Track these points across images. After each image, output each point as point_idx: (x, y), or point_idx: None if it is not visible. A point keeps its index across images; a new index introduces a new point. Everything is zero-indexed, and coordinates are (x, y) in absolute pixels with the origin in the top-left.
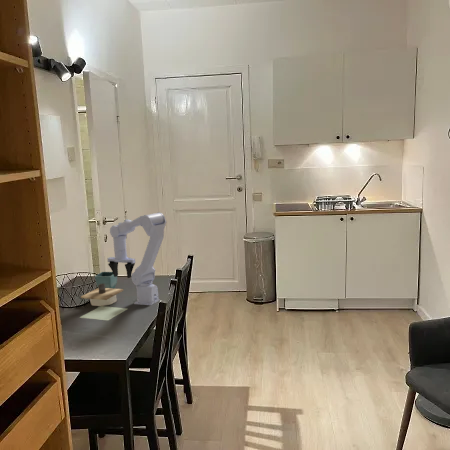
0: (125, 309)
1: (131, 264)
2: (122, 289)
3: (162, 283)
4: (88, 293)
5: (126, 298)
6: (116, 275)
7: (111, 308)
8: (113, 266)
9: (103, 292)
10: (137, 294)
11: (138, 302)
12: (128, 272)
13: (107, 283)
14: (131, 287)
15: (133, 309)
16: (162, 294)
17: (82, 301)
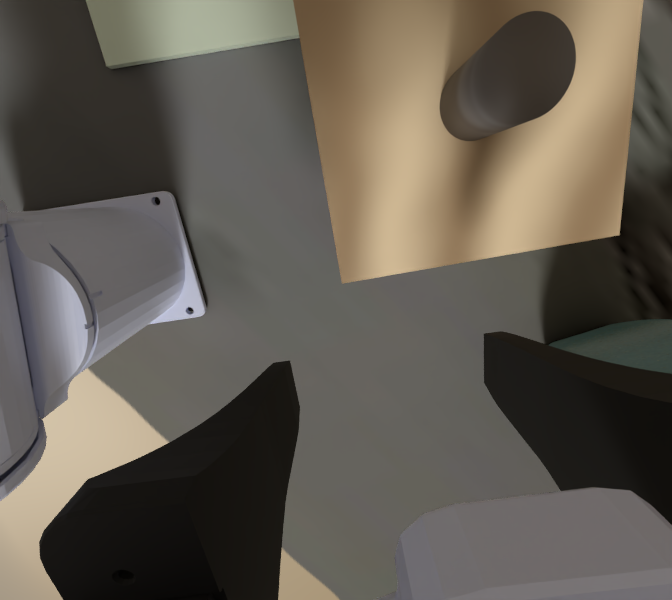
0: (109, 36)
1: (87, 591)
2: (341, 272)
3: (326, 564)
4: (622, 10)
5: (334, 282)
6: (490, 364)
7: (244, 3)
8: (621, 422)
9: (447, 82)
10: (94, 216)
11: (134, 210)
12: (231, 401)
13: (603, 357)
14: (461, 460)
15: (75, 90)
16: (166, 428)
17: (642, 84)
